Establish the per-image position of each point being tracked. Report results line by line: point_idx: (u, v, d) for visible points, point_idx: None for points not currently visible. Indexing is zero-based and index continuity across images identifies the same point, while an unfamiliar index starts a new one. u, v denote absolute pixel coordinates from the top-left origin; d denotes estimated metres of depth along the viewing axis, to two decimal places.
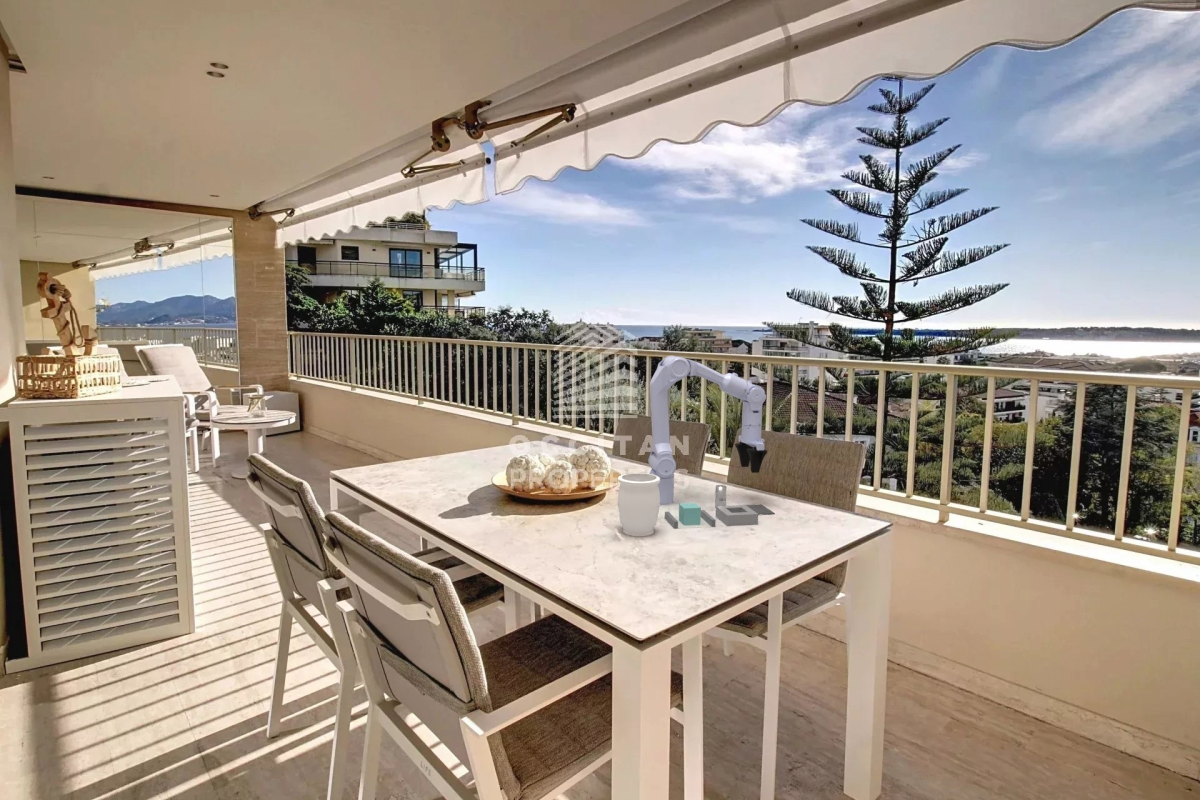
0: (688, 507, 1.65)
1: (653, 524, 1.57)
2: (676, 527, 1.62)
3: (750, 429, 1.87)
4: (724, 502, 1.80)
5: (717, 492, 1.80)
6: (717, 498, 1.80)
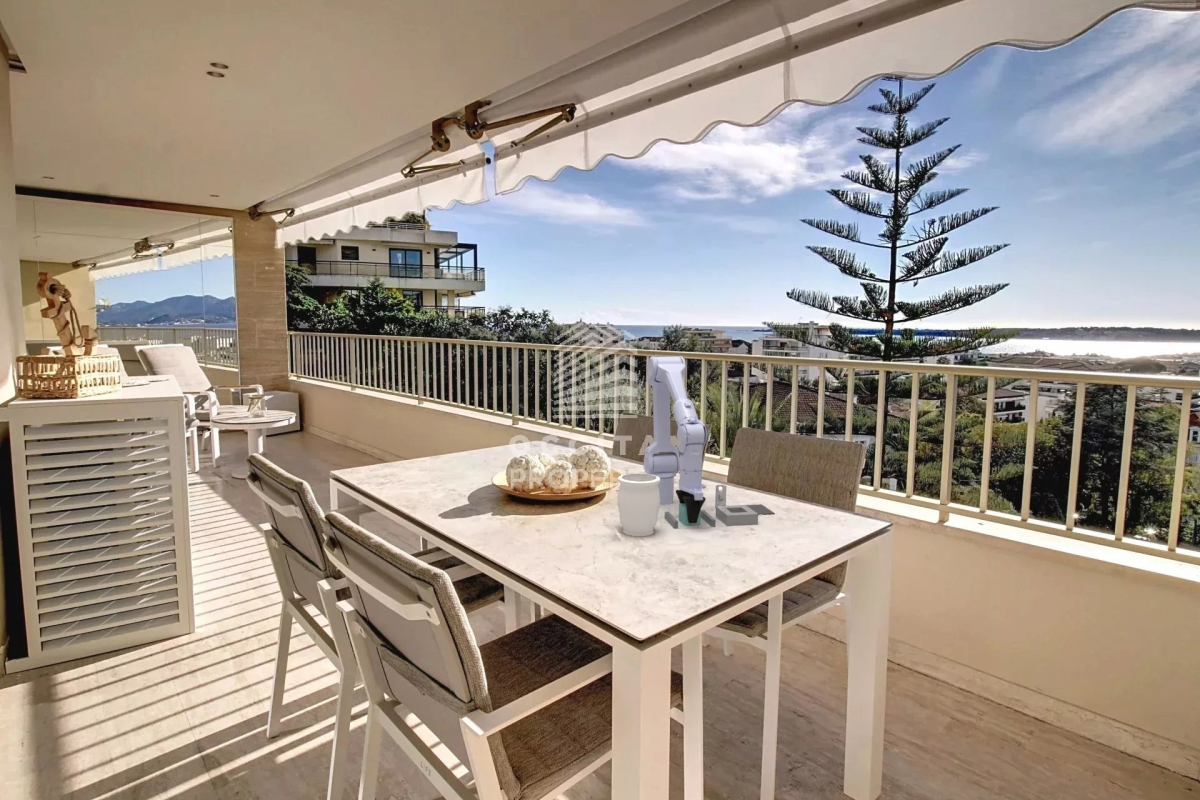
0: None
1: (653, 524, 1.57)
2: (676, 527, 1.62)
3: (688, 475, 1.63)
4: (724, 502, 1.80)
5: (717, 492, 1.80)
6: (717, 498, 1.80)
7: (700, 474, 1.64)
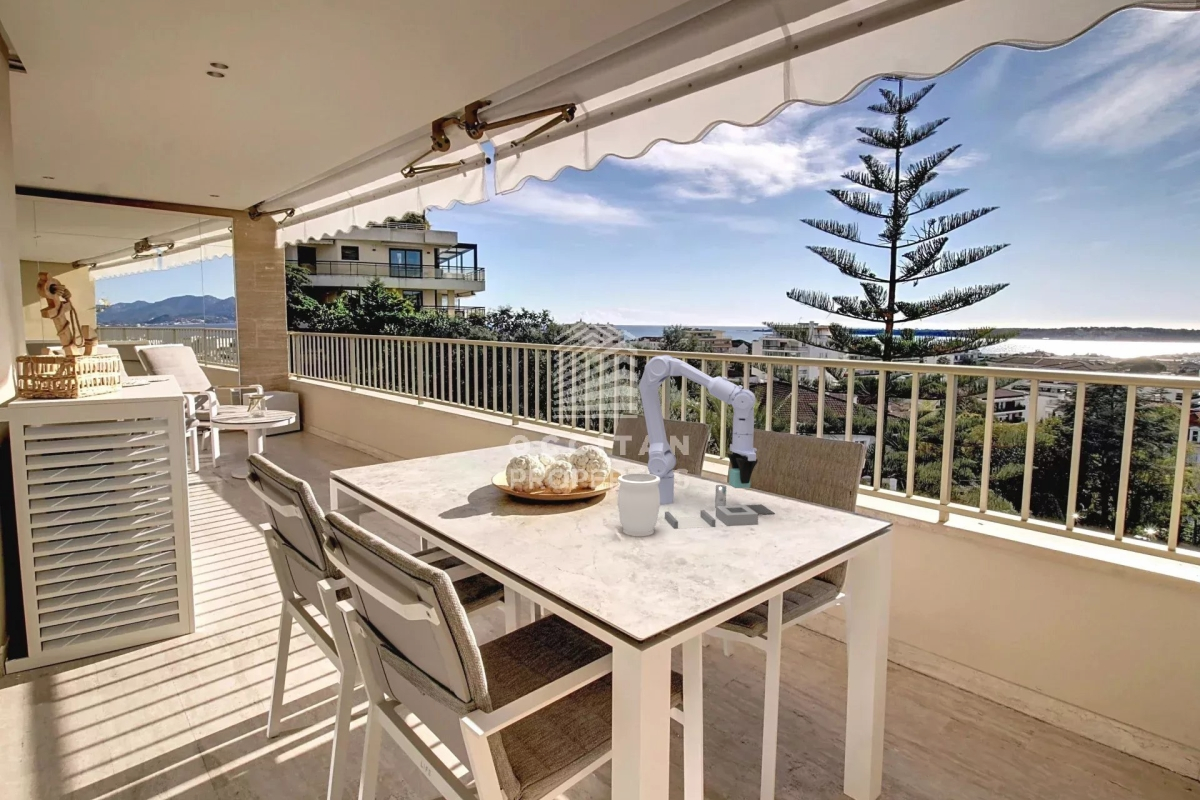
0: (738, 471, 1.77)
1: (653, 524, 1.57)
2: (676, 527, 1.62)
3: (741, 438, 1.75)
4: (724, 502, 1.80)
5: (717, 492, 1.80)
6: (717, 498, 1.80)
7: (752, 437, 1.76)
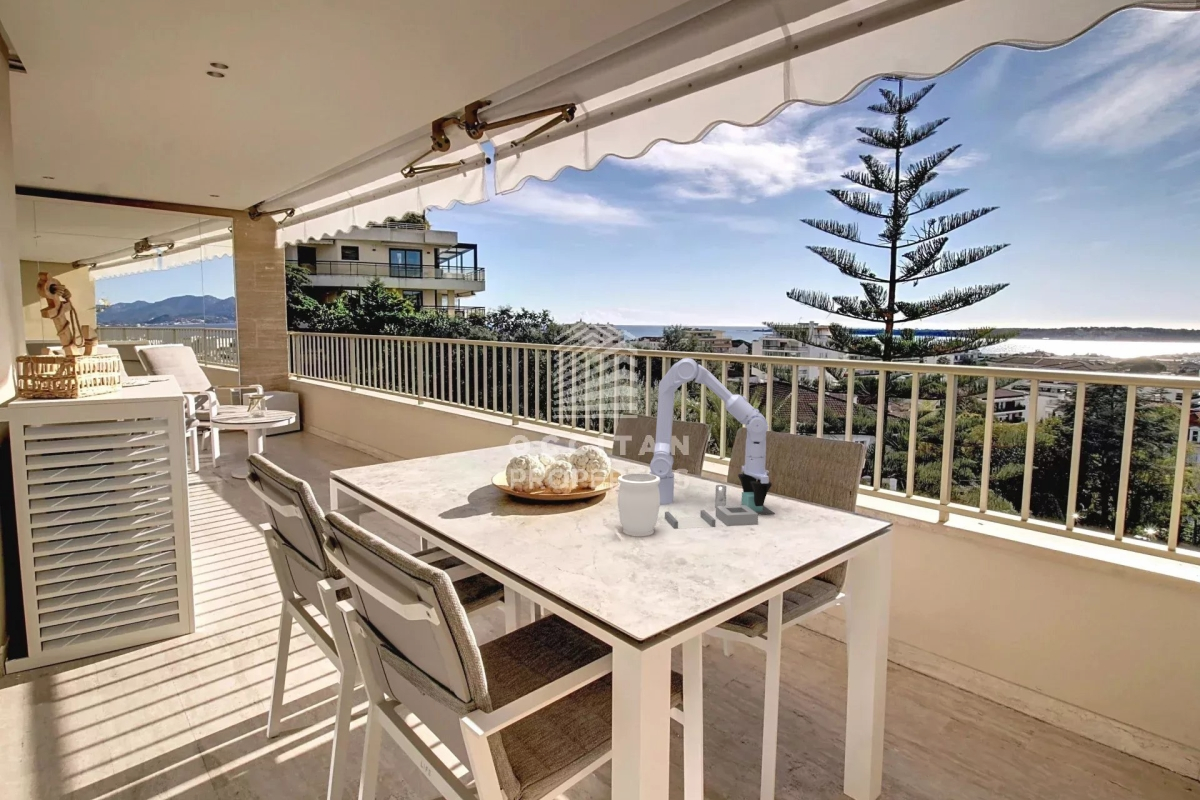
0: (751, 495, 1.81)
1: (653, 524, 1.57)
2: (676, 527, 1.62)
3: (754, 461, 1.79)
4: (724, 502, 1.80)
5: (717, 492, 1.80)
6: (717, 498, 1.80)
7: (764, 460, 1.80)
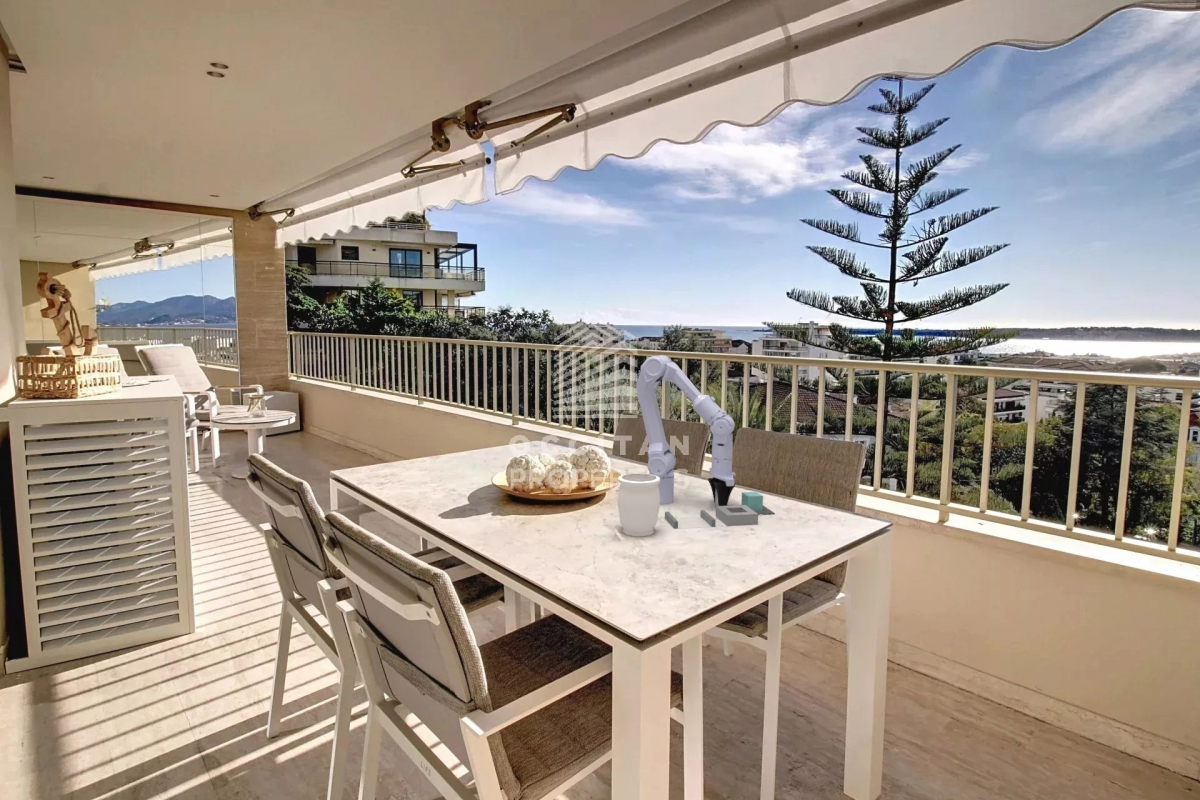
0: (751, 495, 1.81)
1: (653, 524, 1.57)
2: (676, 527, 1.62)
3: (720, 463, 1.77)
4: None
5: None
6: (717, 498, 1.80)
7: (731, 462, 1.78)
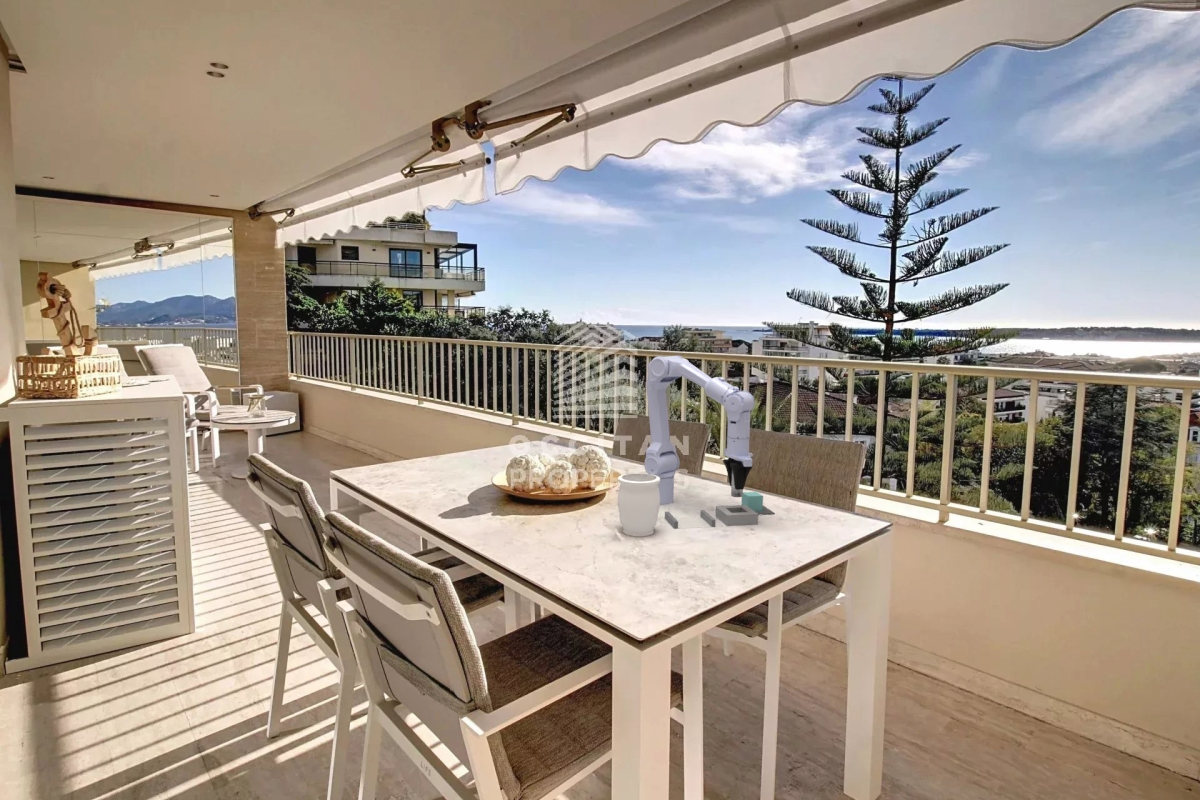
0: (751, 495, 1.81)
1: (653, 524, 1.57)
2: (676, 527, 1.62)
3: (736, 442, 1.65)
4: None
5: None
6: None
7: (748, 442, 1.66)
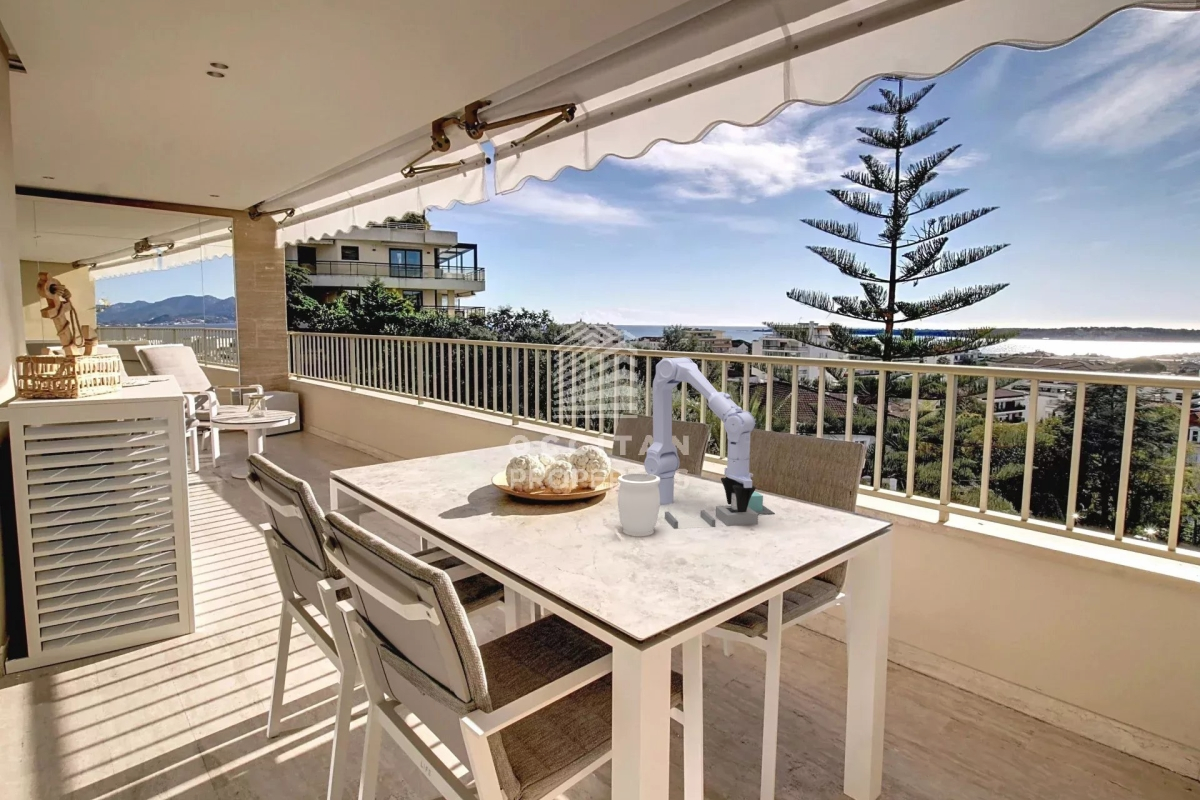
0: None
1: (653, 524, 1.57)
2: (676, 527, 1.62)
3: (736, 463, 1.65)
4: None
5: (733, 500, 1.68)
6: (733, 506, 1.68)
7: (748, 462, 1.66)
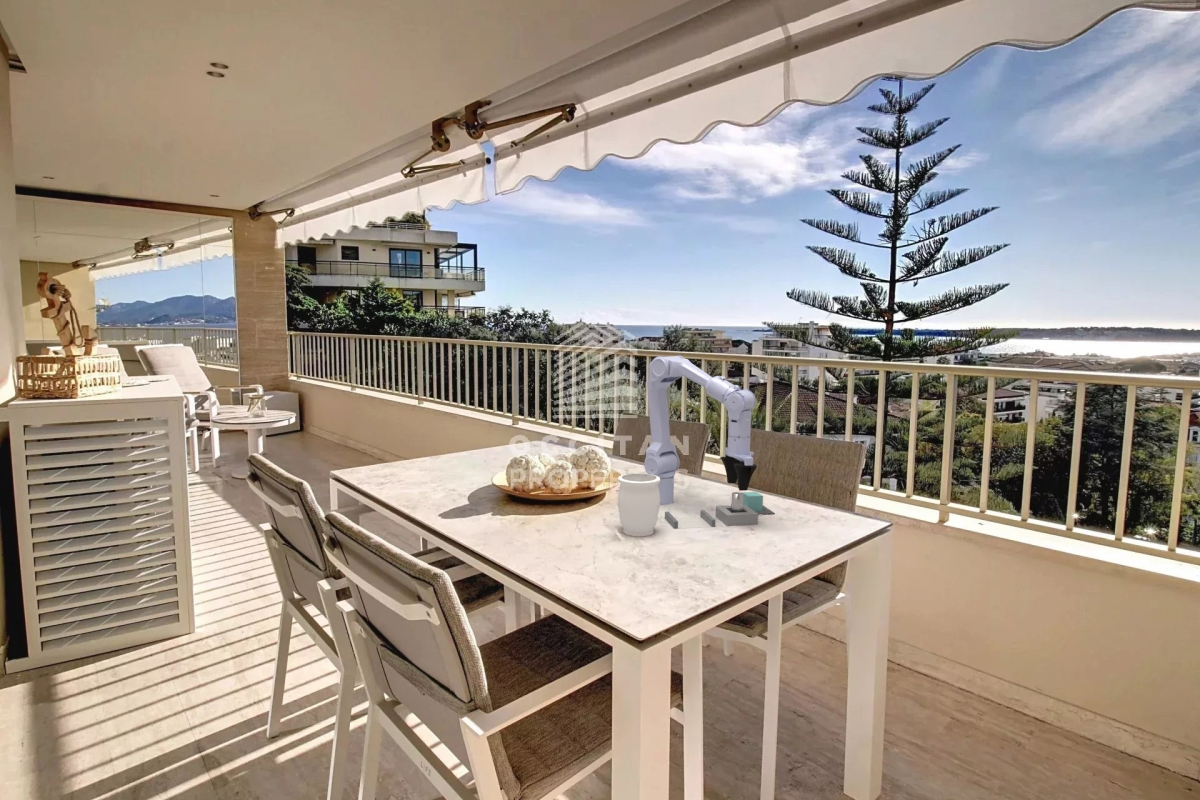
0: (751, 495, 1.81)
1: (653, 524, 1.57)
2: (676, 527, 1.62)
3: (737, 441, 1.65)
4: (741, 511, 1.68)
5: (733, 500, 1.68)
6: (733, 506, 1.68)
7: (749, 441, 1.66)
